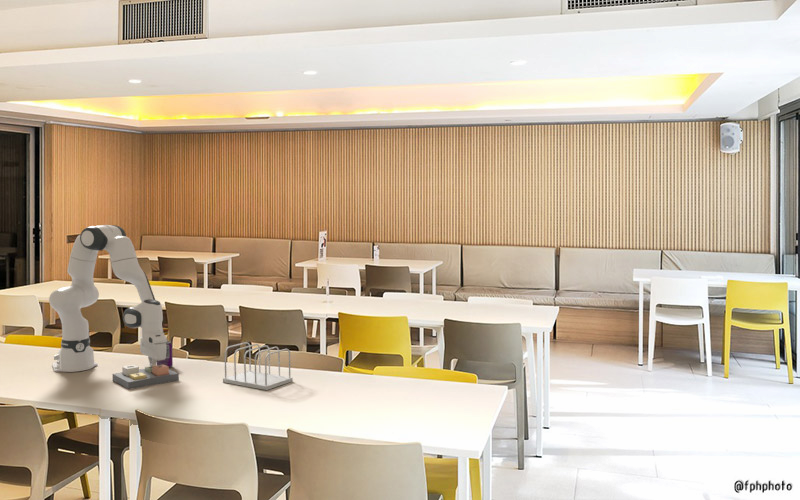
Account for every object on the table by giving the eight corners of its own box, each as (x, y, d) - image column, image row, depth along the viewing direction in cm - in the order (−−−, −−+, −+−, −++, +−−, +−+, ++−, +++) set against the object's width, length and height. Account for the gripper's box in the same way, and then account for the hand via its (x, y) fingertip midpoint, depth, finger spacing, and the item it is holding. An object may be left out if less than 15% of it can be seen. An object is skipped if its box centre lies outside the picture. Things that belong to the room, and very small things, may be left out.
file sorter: (293, 382, 298) (292, 347, 297) (266, 391, 283) (266, 354, 282) (249, 374, 310) (249, 340, 309) (222, 382, 295) (222, 347, 294)
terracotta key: (152, 373, 297) (152, 365, 297) (163, 371, 301) (163, 364, 301) (157, 375, 294) (157, 368, 293) (168, 373, 297) (168, 366, 297)
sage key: (145, 374, 303) (145, 366, 303) (156, 372, 307) (156, 365, 307) (149, 376, 300) (149, 369, 299) (161, 374, 303) (161, 367, 303)
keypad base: (112, 380, 296) (112, 373, 296) (161, 372, 311) (161, 365, 311) (128, 389, 283) (128, 382, 283) (178, 380, 298) (178, 373, 298)
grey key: (122, 373, 296) (122, 366, 296) (134, 371, 300) (134, 364, 300) (127, 376, 293) (126, 368, 292) (138, 374, 296) (138, 366, 296)
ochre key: (129, 381, 291) (129, 374, 291) (141, 379, 294) (141, 372, 294) (134, 384, 287) (134, 376, 287) (146, 382, 291) (146, 374, 290)
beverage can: (175, 365, 323) (174, 340, 323) (168, 369, 316) (168, 344, 316) (160, 365, 324) (160, 340, 323) (154, 368, 317) (153, 343, 316)
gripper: (136, 333, 307) (136, 363, 308) (154, 340, 292) (155, 372, 294) (149, 331, 312) (150, 361, 313) (169, 338, 297) (169, 369, 298)
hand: (152, 366), depth 303 cm, fingers closed
